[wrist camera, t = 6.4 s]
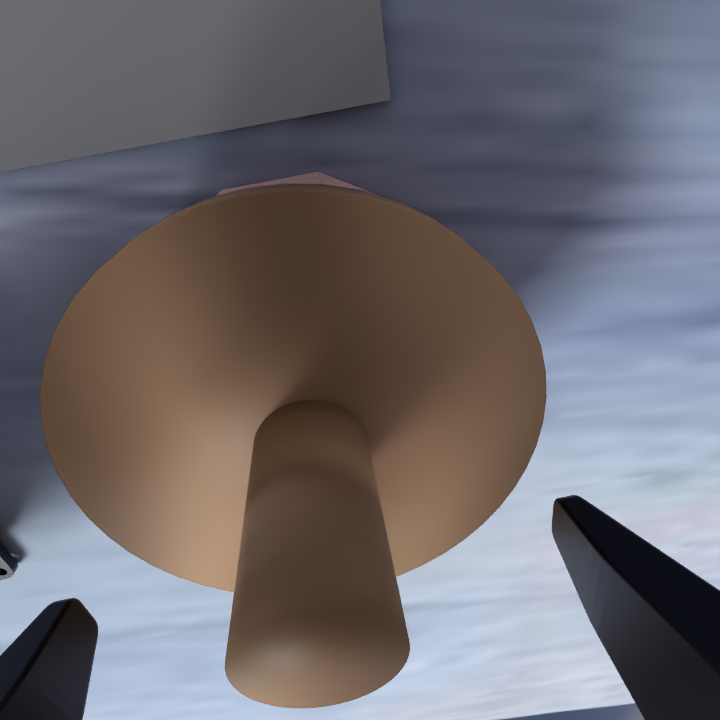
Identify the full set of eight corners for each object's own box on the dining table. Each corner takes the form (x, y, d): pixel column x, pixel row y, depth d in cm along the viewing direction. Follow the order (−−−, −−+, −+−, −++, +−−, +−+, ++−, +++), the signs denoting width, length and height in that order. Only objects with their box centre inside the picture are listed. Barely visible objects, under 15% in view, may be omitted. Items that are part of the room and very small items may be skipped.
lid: (171, 599, 15) (105, 861, 10) (-55, 246, 9) (-544, 447, 4) (523, 524, 15) (640, 741, 10) (536, 130, 9) (845, 169, 4)
